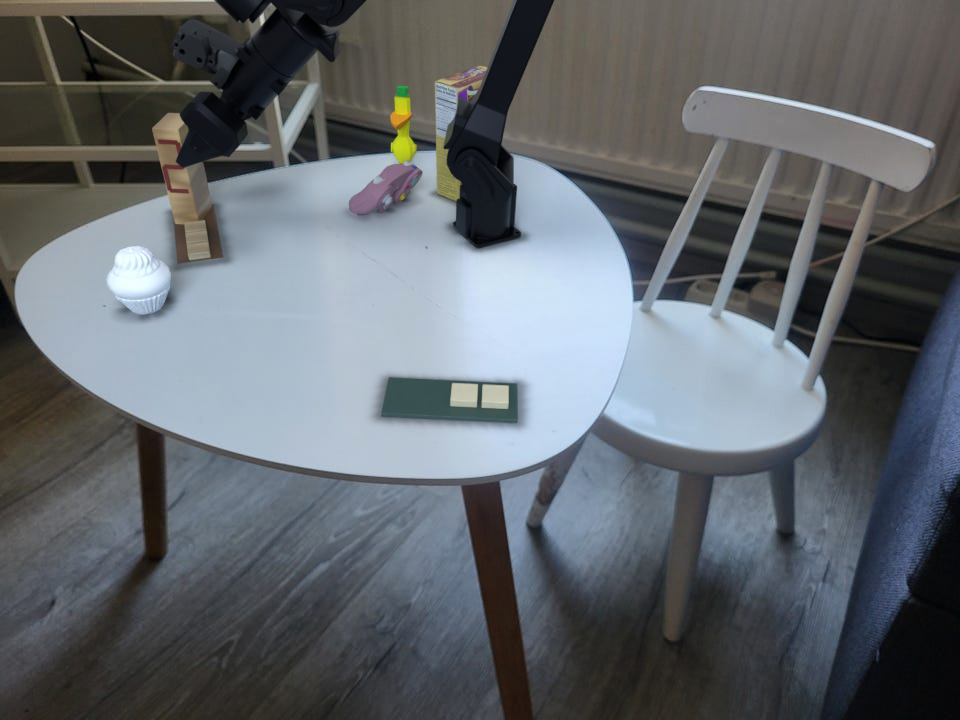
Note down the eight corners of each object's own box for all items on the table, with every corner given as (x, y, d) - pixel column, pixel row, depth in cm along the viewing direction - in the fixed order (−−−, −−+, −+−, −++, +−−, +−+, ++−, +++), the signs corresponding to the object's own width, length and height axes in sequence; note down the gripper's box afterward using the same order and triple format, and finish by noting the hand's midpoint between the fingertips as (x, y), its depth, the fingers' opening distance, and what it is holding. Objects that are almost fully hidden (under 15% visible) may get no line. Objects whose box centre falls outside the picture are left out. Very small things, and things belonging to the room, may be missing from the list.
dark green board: (381, 416, 66) (380, 406, 65) (388, 380, 70) (388, 370, 69) (516, 423, 66) (517, 413, 65) (516, 386, 70) (517, 376, 69)
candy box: (476, 173, 107) (480, 63, 97) (499, 182, 104) (506, 71, 95) (434, 193, 101) (433, 79, 92) (457, 203, 99) (459, 87, 90)
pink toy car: (369, 232, 95) (386, 193, 90) (343, 209, 96) (359, 169, 90) (414, 203, 102) (433, 166, 97) (390, 182, 102) (407, 143, 97)
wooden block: (212, 206, 95) (193, 113, 88) (199, 225, 91) (177, 130, 84) (189, 205, 95) (168, 112, 88) (174, 224, 91) (151, 128, 84)
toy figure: (410, 185, 103) (408, 98, 96) (385, 182, 103) (380, 95, 96) (420, 165, 108) (418, 81, 101) (396, 163, 108) (393, 79, 101)
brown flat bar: (173, 211, 95) (170, 203, 94) (214, 206, 96) (212, 198, 95) (178, 266, 84) (175, 257, 84) (223, 260, 86) (222, 251, 85)
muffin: (149, 284, 81) (133, 227, 77) (191, 300, 79) (176, 242, 75) (102, 312, 77) (82, 252, 73) (145, 330, 75) (127, 270, 70)
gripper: (238, -23, 85) (163, 71, 92) (180, 19, 70) (96, 128, 77) (314, 52, 90) (237, 137, 96) (275, 107, 75) (188, 202, 82)
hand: (193, 148), depth 88 cm, fingers open, 9 cm apart
